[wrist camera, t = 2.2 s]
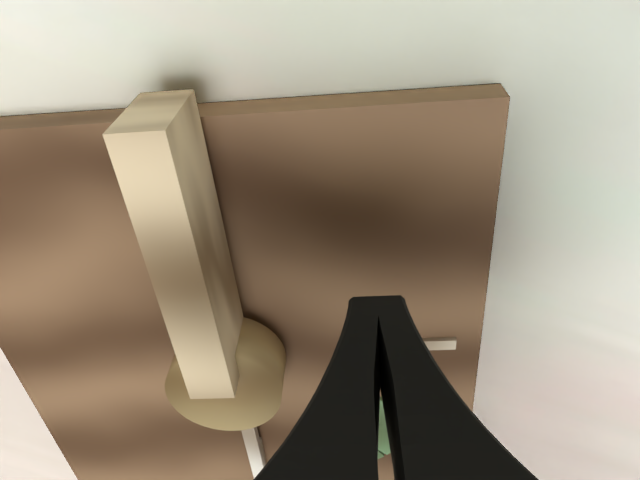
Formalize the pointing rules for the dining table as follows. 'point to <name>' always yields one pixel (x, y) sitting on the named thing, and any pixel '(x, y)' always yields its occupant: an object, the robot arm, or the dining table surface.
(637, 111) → the dining table surface
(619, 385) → the dining table surface
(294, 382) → the dial board
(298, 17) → the dining table surface
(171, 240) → the dial lever
